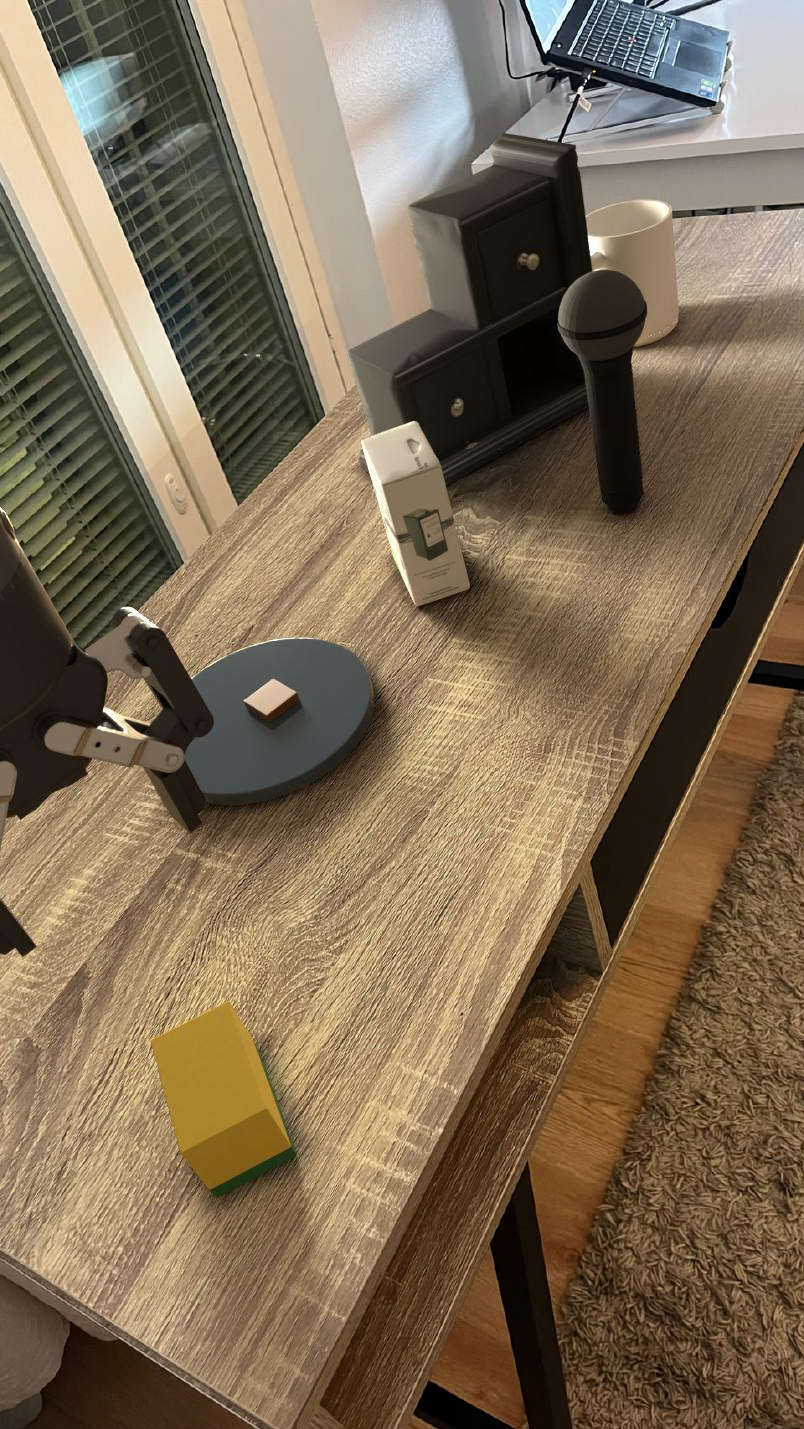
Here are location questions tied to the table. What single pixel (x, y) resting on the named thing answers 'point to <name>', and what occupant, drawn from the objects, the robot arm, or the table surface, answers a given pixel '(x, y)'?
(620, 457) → the microphone
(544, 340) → the small black cabinet
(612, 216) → the mug
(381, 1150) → the table surface
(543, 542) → the table surface
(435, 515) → the ink box
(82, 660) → the robot arm
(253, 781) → the plate
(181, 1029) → the sponge
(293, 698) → the orange brown flat block
